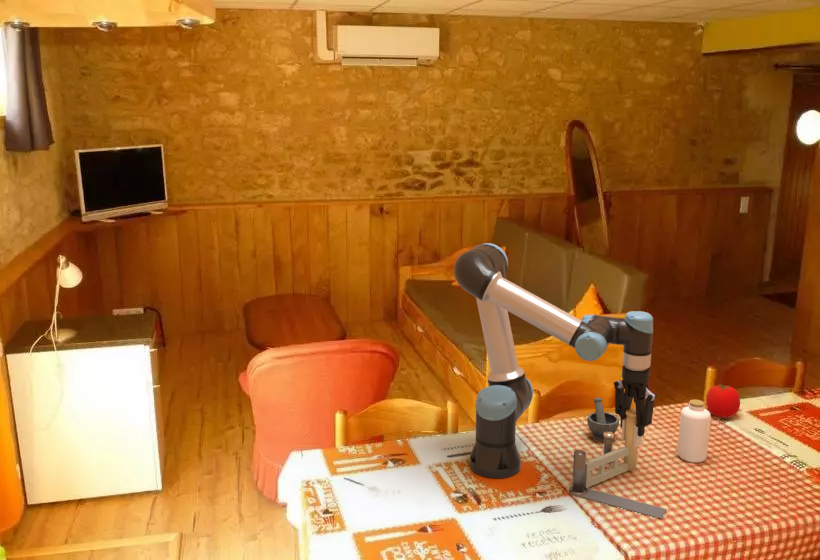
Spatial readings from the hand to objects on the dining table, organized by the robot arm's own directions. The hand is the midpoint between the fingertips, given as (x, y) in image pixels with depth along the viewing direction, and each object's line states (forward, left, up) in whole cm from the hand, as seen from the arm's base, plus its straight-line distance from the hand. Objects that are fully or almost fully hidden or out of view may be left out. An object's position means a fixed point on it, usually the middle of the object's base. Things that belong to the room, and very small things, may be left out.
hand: (631, 442), depth 207 cm
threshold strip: (+2, -19, -9) cm, 21 cm away
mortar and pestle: (-13, +17, -9) cm, 24 cm away
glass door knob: (-7, +3, -9) cm, 12 cm away
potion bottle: (+14, +17, -9) cm, 24 cm away
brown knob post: (-9, -19, -9) cm, 23 cm away
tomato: (+18, +53, -9) cm, 57 cm away
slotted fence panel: (-4, -7, -8) cm, 12 cm away
